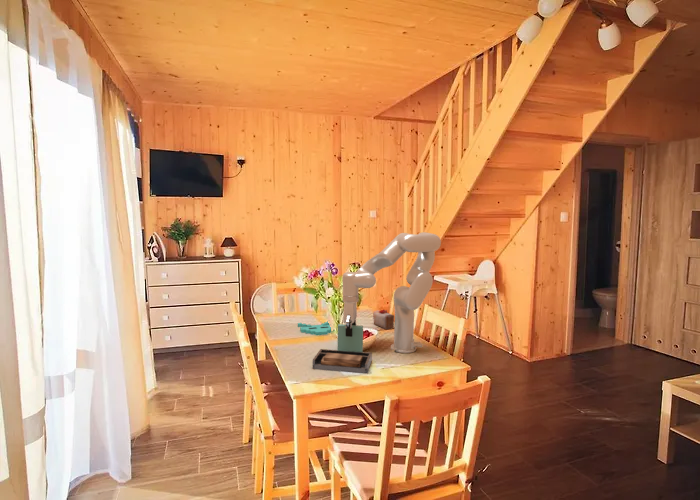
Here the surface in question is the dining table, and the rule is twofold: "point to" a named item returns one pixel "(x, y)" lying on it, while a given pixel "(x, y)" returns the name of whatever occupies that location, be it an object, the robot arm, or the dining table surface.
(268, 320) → the dining table surface
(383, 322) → the food item
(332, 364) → the middle offcut
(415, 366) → the dining table surface
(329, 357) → the top offcut
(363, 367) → the dark grey tray
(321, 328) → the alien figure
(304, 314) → the dining table surface
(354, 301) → the robot arm
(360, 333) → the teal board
